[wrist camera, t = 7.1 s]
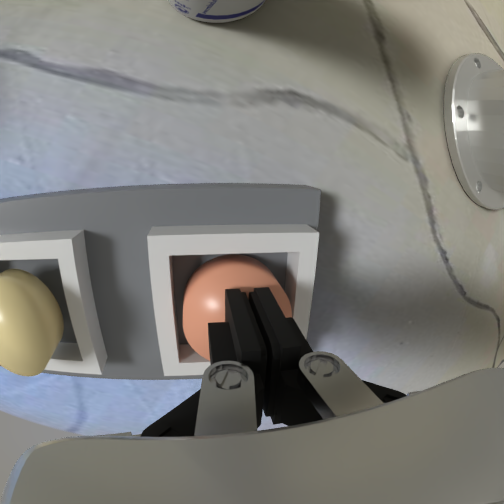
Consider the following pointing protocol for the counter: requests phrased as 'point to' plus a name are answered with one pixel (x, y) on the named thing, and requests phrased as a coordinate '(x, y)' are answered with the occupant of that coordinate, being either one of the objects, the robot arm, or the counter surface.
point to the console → (152, 264)
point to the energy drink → (216, 9)
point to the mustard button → (27, 323)
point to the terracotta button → (223, 294)
